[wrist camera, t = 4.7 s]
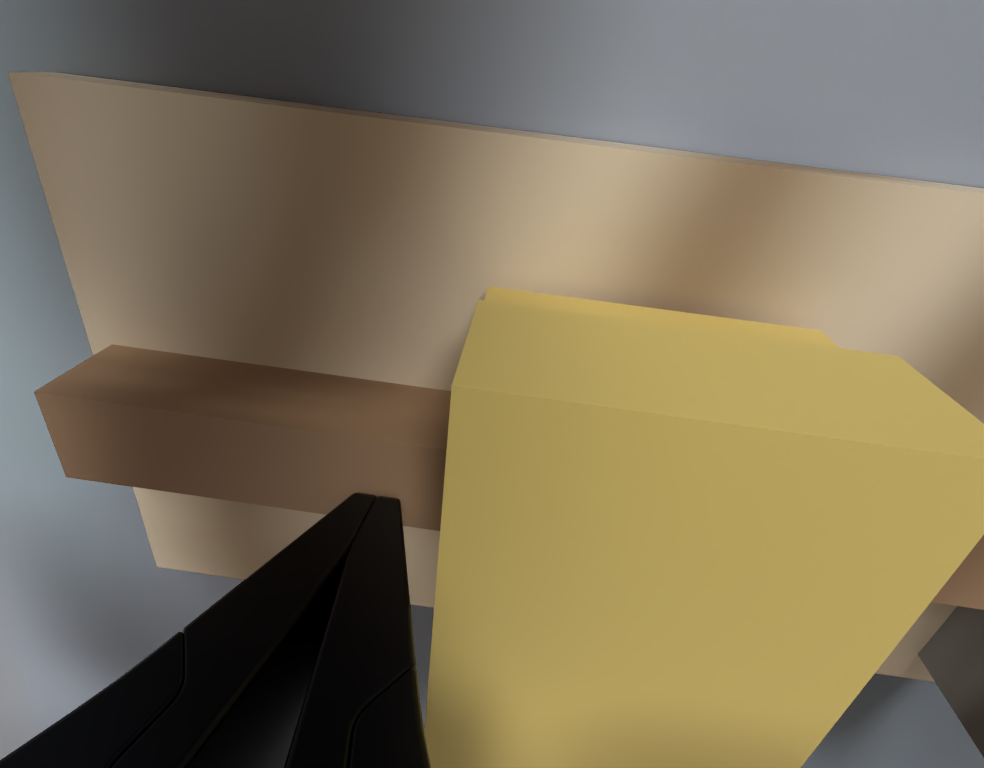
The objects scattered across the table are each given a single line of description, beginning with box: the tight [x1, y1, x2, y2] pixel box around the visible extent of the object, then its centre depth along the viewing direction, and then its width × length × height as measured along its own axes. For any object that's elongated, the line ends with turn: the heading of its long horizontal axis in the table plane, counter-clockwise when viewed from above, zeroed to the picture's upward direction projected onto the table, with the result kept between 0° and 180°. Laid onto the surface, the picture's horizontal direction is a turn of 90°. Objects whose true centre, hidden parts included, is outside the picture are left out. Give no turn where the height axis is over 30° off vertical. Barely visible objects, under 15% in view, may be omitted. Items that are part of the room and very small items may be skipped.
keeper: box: [424, 286, 984, 768], centre depth 9 cm, size 6×8×4 cm
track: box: [8, 72, 984, 757], centre depth 10 cm, size 23×12×6 cm, turn 84°
